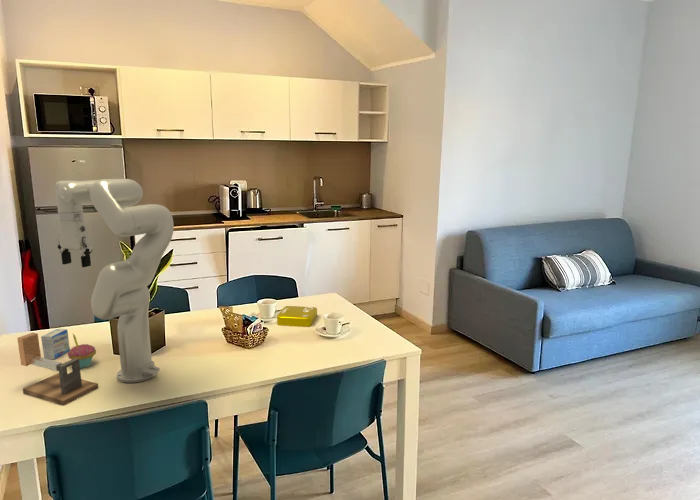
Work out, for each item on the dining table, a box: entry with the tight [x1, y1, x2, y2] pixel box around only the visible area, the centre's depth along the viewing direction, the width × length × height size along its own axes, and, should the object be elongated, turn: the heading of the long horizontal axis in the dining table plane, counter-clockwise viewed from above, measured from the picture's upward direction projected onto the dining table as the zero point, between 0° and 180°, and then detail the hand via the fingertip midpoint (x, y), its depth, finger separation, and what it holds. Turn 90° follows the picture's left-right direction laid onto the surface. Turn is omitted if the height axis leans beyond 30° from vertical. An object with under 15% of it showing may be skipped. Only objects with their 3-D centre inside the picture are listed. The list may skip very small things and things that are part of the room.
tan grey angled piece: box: [17, 332, 63, 372], centre depth 160 cm, size 14×5×9 cm, turn 66°
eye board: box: [22, 358, 99, 406], centre depth 158 cm, size 18×12×10 cm, turn 66°
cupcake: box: [67, 333, 97, 369], centre depth 176 cm, size 9×8×12 cm
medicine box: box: [40, 328, 71, 360], centre depth 185 cm, size 8×4×9 cm, turn 168°
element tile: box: [276, 305, 318, 328], centre depth 222 cm, size 15×15×5 cm
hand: (76, 265), depth 180 cm, fingers open, 9 cm apart
